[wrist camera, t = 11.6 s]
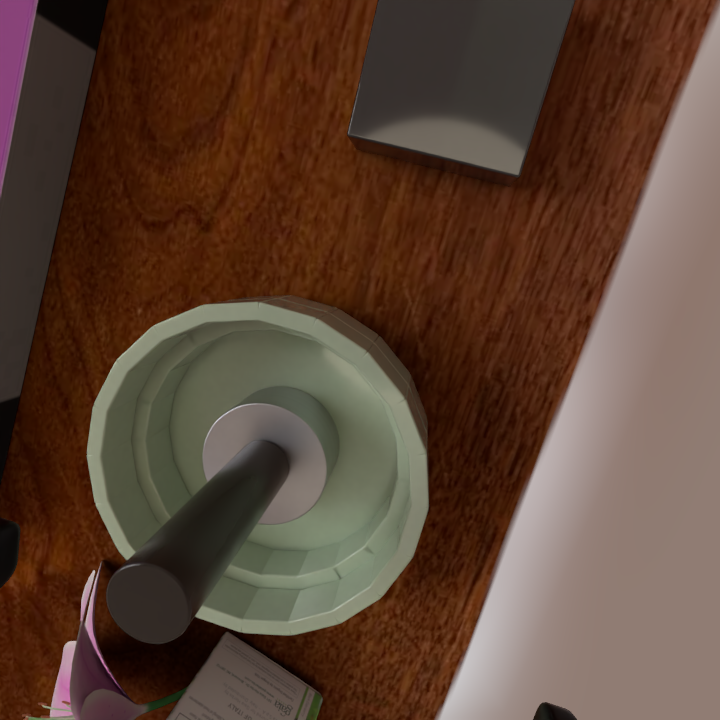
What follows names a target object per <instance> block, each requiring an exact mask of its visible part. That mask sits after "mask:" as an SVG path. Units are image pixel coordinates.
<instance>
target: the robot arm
mask: <svg viewBox="0 0 720 720" xmlns="http://www.w3.org/2000/svg"><path fill="white" fill-rule="evenodd" d="M19 540H20V527H19V525H18V524H17V523H16V522H13V521H10V520H7V519H4V518H1V517H0V588H1V587H2V586H3V585H4V584H5V583H6V582H7V581H8V580H9V578H10V577H11V576H12V574H13V572H14V570H15V568H16V565H17V560H18V550H19ZM533 720H577V719H576V718H575V716H574V715H573V714H572V713H571V712H570V711H569V710H567V709H565V708H562V707H559V706H556V705H553V704H550V703H547V702H545V703H542V704H540V706H539V707H538V709H537V711H536V714H535V716H534V719H533Z"/></svg>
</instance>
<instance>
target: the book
mask: <svg viewBox="0 0 720 720" xmlns="http://www.w3.org/2000/svg"><path fill="white" fill-rule="evenodd" d="M107 1H108V0H0V484H1V479H2V475H3V470H4V466H5V461H6V457H7V452H8V448H9V443H10V439H11V434H12V430H13V425H14V421H15V416H16V412H17V407H18V403H19V398H20V394H21V389H22V384H23V380H24V375H25V371H26V366H27V362H28V357H29V353H30V348H31V344H32V339H33V335H34V330H35V326H36V321H37V317H38V312H39V308H40V303H41V299H42V294H43V290H44V285H45V281H46V276H47V272H48V267H49V263H50V258H51V254H52V249H53V245H54V240H55V236H56V231H57V227H58V222H59V218H60V213H61V209H62V204H63V199H64V195H65V190H66V186H67V181H68V177H69V172H70V168H71V163H72V159H73V154H74V150H75V145H76V141H77V136H78V132H79V127H80V123H81V118H82V114H83V109H84V105H85V100H86V96H87V91H88V87H89V82H90V78H91V73H92V69H93V64H94V60H95V55H96V51H97V46H98V42H99V37H100V33H101V28H102V24H103V19H104V14H105V10H106V5H107Z"/></svg>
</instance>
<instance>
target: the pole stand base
mask: <svg viewBox="0 0 720 720" xmlns="http://www.w3.org/2000/svg"><path fill="white" fill-rule="evenodd" d="M574 4H575V0H378V3H377V7H376V11H375V16H374V20H373V24H372V29H371V33H370V37H369V42H368V46H367V50H366V55H365V59H364V63H363V68H362V72H361V76H360V80H359V85H358V89H357V93H356V98H355V102H354V106H353V111H352V115H351V119H350V124H349V128H348V132H347V136H348V137H349V139H350V140H351V142H352V144H353V145H354V147H355V148H356V149H357V150H361V151H365V152H369V153H373V154H377V155H382V156H386V157H390V158H394V159H398V160H402V161H406V162H410V163H414V164H418V165H422V166H426V167H430V168H434V169H439V170H443V171H447V172H451V173H455V174H459V175H463V176H467V177H471V178H475V179H479V180H483V181H487V182H491V183H496V184H500V185H504V186H508V187H509V186H511V185H512V184H513V183H514V182H515V181H516V180H517V179H518V178H519V177H520V176H521V172H522V169H523V166H524V163H525V160H526V157H527V153H528V150H529V147H530V144H531V141H532V137H533V134H534V131H535V128H536V125H537V122H538V118H539V115H540V112H541V109H542V106H543V102H544V99H545V96H546V93H547V90H548V86H549V83H550V80H551V77H552V74H553V71H554V67H555V64H556V61H557V58H558V55H559V51H560V48H561V45H562V42H563V39H564V35H565V32H566V29H567V26H568V23H569V20H570V16H571V13H572V10H573V7H574Z"/></svg>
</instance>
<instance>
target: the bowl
mask: <svg viewBox="0 0 720 720" xmlns="http://www.w3.org/2000/svg"><path fill="white" fill-rule="evenodd" d="M275 386H283V387H291V388H295V389H298V390H301V391H303V392H305V393H307V394H309V395H311V396H312V397H314V398H315V399H316V400H318V401H319V402H320V403H321V404H322V405H323V406H324V407H325V408H326V409H327V411H328V412H329V414H330V415H331V417H332V419H333V421H334V423H335V425H336V428H337V431H338V435H339V444H340V445H339V455H338V460H337V463H336V465H335V468H334V470H333V472H332V474H331V476H330V478H329V480H328V482H327V484H326V487H325V489H324V491H323V493H322V495H321V497H320V499H319V500H318V501H317V503H316V504H315V505H314V506H313V507H312V509H311V510H310V511H308V512H307V513H306V514H304V515H303V516H301V517H299V518H298V519H295V520H293V521H290V522H287V523H283V524H276V525H266V524H258V523H257V525H256V526H255V528H254V529H253V531H252V532H251V533H250V535H249V536H248V538H247V539H246V541H245V542H244V544H243V545H242V547H241V548H240V550H239V551H238V553H237V554H236V556H235V557H234V559H233V560H232V562H231V563H230V565H229V566H228V568H227V569H226V571H225V572H224V574H223V575H222V577H221V578H220V580H219V581H218V583H217V584H216V586H215V587H214V589H213V590H212V592H211V593H210V595H209V596H208V598H207V599H206V601H205V602H204V604H203V605H202V607H201V608H200V610H199V611H198V613H197V614H196V616H195V617H196V618H199V619H202V620H205V621H208V622H211V623H214V624H217V625H220V626H223V627H226V628H228V629H231V630H234V631H237V632H242V633H250V634H268V635H285V636H291V635H297V634H301V633H305V632H310V631H314V630H318V629H322V628H326V627H330V626H334V625H338V624H339V623H343V622H344V621H346V620H347V619H349V618H350V617H352V616H354V615H355V614H357V613H358V612H360V611H362V610H363V609H365V608H366V607H368V606H370V605H371V604H373V603H374V602H376V601H377V600H379V599H380V598H381V597H382V596H383V595H384V594H385V593H386V592H387V590H388V589H389V588H390V587H391V585H392V584H393V583H394V581H395V580H396V579H397V578H398V576H399V575H400V574H401V572H402V571H403V570H404V569H405V567H406V566H407V565H408V563H409V562H410V561H411V560H412V558H413V557H414V553H415V550H416V547H417V544H418V541H419V538H420V535H421V532H422V529H423V525H424V522H425V519H426V516H427V513H428V510H429V446H428V421H427V416H426V413H425V411H424V408H423V405H422V403H421V400H420V397H419V395H418V392H417V390H416V387H415V384H414V382H413V379H412V376H411V375H410V372H409V371H408V370H407V369H406V367H405V366H404V365H403V364H402V363H401V361H400V360H399V359H398V358H397V356H396V355H395V354H394V353H393V351H392V350H391V349H390V348H389V346H388V345H387V344H386V343H385V341H384V340H383V339H382V338H381V336H379V335H378V334H377V333H375V332H374V331H372V330H371V329H369V328H368V327H366V326H365V325H363V324H362V323H360V322H359V321H357V320H355V319H354V318H352V317H351V316H349V315H348V314H346V313H345V312H343V311H342V310H340V309H337V308H336V307H333V306H329V305H325V304H322V303H318V302H315V301H311V300H307V299H304V298H300V297H296V296H290V295H281V296H262V297H245V298H239V299H234V300H228V301H222V302H216V303H210V304H205V305H201V306H198V307H196V308H193V309H191V310H189V311H186V312H184V313H181V314H179V315H177V316H174V317H172V318H169V319H167V320H165V321H162V322H160V323H157V324H155V325H154V326H152V327H151V328H150V329H149V330H148V331H147V332H146V333H145V334H143V335H142V336H141V337H140V338H139V339H138V340H137V341H136V342H135V343H134V344H133V345H132V346H131V347H129V348H128V349H127V350H126V351H125V352H124V353H123V354H122V355H121V356H120V357H119V358H118V359H117V361H116V362H115V363H114V365H113V367H112V369H111V371H110V373H109V375H108V377H107V379H106V381H105V383H104V385H103V387H102V388H101V390H100V392H99V394H98V396H97V398H96V400H95V402H94V406H93V409H92V416H91V424H90V431H89V438H88V446H87V461H88V467H89V473H90V478H91V484H92V490H93V496H94V501H95V503H96V507H97V509H98V511H99V513H100V515H101V517H102V519H103V521H104V523H105V525H106V527H107V529H108V532H109V534H110V536H111V538H112V540H113V542H114V544H115V546H116V548H117V549H118V551H119V552H120V553H121V555H122V556H123V557H124V558H125V559H126V560H128V559H129V558H130V557H131V556H132V555H133V554H134V553H135V552H136V551H137V550H138V549H139V548H140V547H141V546H142V545H143V544H144V543H146V542H147V541H148V540H149V539H150V538H151V537H152V536H153V535H154V534H155V533H156V532H157V531H158V530H159V529H160V528H161V527H162V526H163V525H164V524H165V523H166V522H167V521H168V520H169V519H170V518H171V517H172V516H173V515H174V514H175V513H176V512H177V511H178V510H179V509H180V508H181V507H182V506H184V505H185V504H186V503H187V502H188V501H189V500H190V499H191V498H192V497H193V496H194V495H195V494H196V493H197V492H198V491H199V490H200V489H201V488H202V487H203V486H204V485H205V484H206V483H207V480H206V477H205V473H204V469H203V447H204V443H205V439H206V437H207V434H208V432H209V430H210V429H211V427H212V425H213V424H214V423H215V422H216V421H217V419H218V418H220V417H221V416H222V415H223V414H224V413H226V412H227V411H228V410H230V409H231V408H233V407H234V406H235V405H237V404H238V403H239V402H241V401H242V400H244V399H245V398H246V397H248V396H249V395H251V394H252V393H254V392H256V391H258V390H261V389H264V388H268V387H275Z"/></svg>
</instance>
